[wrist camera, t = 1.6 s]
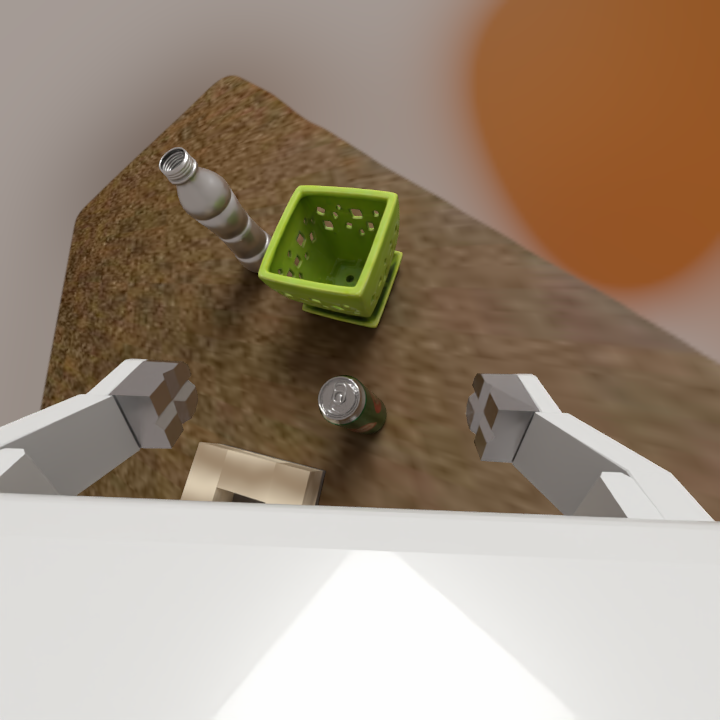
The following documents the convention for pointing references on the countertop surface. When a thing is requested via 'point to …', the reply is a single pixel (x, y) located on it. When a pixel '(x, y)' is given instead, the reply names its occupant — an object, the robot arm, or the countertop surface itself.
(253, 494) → the can holder
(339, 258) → the flower pot
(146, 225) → the countertop surface
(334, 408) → the soda can
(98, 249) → the countertop surface
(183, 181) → the plastic bottle
